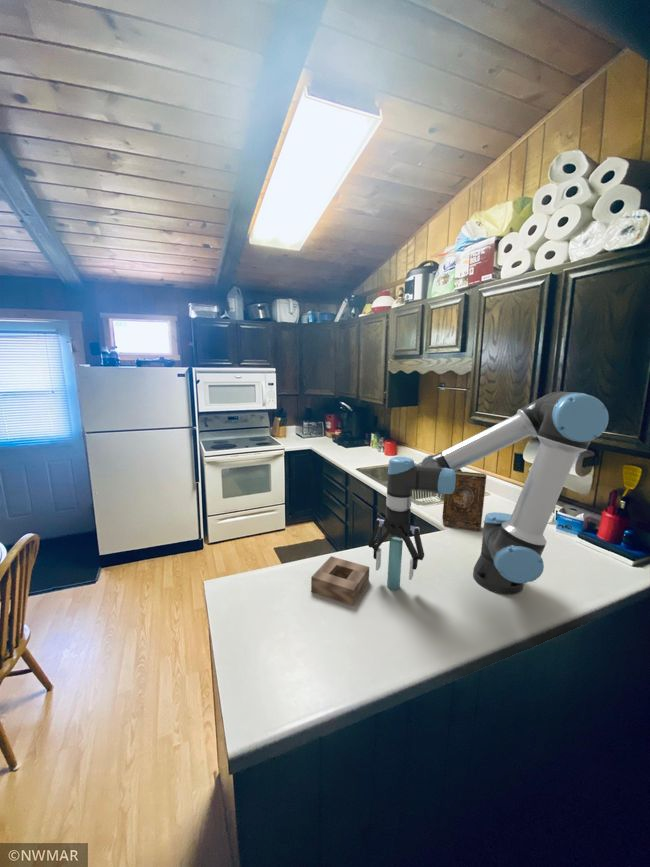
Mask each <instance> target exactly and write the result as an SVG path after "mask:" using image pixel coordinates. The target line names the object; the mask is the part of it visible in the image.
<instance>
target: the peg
mask: <svg viewBox="0 0 650 867" xmlns="http://www.w3.org/2000/svg"><path fill="white" fill-rule="evenodd" d="M403 543H404V541H403V539H402V538H401V537H397V536H393V537H390V538H389V547H388V562H387V564H388V565H387V566H388V567H387V578H386V580H387V581H386V587H387V588H388V589H389V590H391V591H398V590H400V586H401V573H402V572H401V571H402V560H403V559H402V557H403V556H402V555H403Z"/></svg>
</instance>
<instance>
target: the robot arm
mask: <svg viewBox="0 0 650 867" xmlns="http://www.w3.org/2000/svg"><path fill="white" fill-rule="evenodd" d="M609 418H610V417H609V411H608V409H607V407H606V405H605V404H604V403H603V402H602V401H601V400H600V399H599V398H597V397H595V396H593V395H590V394H587V393H583V392H573V391H571V392H569V391H561V390H559V391H554V392H550V393H548V394H545V395H543V396H542V397H539V398H538V399H535V400H534V401H532V402H531V403H529V404H526V405H524V406H523V407H521V408H519V409H517V412H516V414H515V415H512V416H510V417H508V418H506V419H504V420H502V421H500V422H499V423H497V424H494V425H493V426H491V427H488V428H487V429H484V430H482V431H481V432H478V433H476V434H474V435H472V436H469V437H468V438H466V439H463V441H460V442H458V443H457V444H454V445H453V446H450V447H448V448H447V449H444V450H442V451H441V452H438V453H436V454H430V455H427V456H425V457H424V458H423V459H422V461H421V464H420V465H415V461H414V459H413V458H411V457H407V456H394V457H391V458H390V459H389V461H388V468H387V478H386V479H387V480H386V481H387V482H386V484H387V485H386V499H385V500H386V501H385V502H386V506H385V515H384V516H385V519H381V517H377V519H376V520H375V521H374V529H373V532H372V534H371V537H370V540H369V542H368V546H367V547H369V548H372V550H373V559H374V560H375V571H379V570H380V568H381V564H382V560H381V559H382V548H381V545H383V542H385V540H386V539H387V538H388V537H389V535H390V536H393V537H397V538H401V539H402V540H403V543H404V544H405V546H406V548H407V550H408V552H409V554H410V556H411V558H410V560H409V572H408V580H410V581H412V579H413V577H414V570H417V568H418V564H419V563H418V561H423V560H424V557H425V551H424V547H423V543H422V539H421V538H422V537H421V535H420V532H421V526H419V525H417V526H414V525H412V524H411V507H412V498H413V497H412V496H413V495H412V494H413V491H416V492H422V493H423V492H424V493H433V494H440V495H444V494H452V493H453V492H454V490H455V482H456V475H455V471H459V470H461V469H463V468H465V467H467V466H469V465H471V464H473V463H475V462H477V461H479V460H481V459H484V458H485V457H488V456H490V455H492V454H494V453H497V452H498V451H500V450H503V449H505V448H507V447H509V446H511V445H513V444H516V443H518V442H520V441H523V440H524V439H527V438H528V437H534V438H536V437H537V438H538V440H539V443H540V444H539V446H538V449H537V451H536V455H535V457H534V459H533V462H532V464H531V466H530V469H529V472H528V474H527V476H526V480H525V482H524V484H523V486H522V488H521V489H522V490H521V492H520V493H519V496H518V499H517V501H516V504H515V507H514V508H513V512H512V514H510V513H505V512H488V513H486V515H485V516H484V521H483V530H482V540H481V548H480V549H481V551H480V554H479V557H478V559H477V561H476V563H475V564H474V567H473V569H472V570H473V572H472V577H473V579H474V580H475V582H476V583H478V585H481V587H483V588H485V589H487V590H489V591H491V592H495V593H497V594H503V595H516V594H520V593H521V592H523V590H524V586H525V585H524V584H527V583H530V582H531V583H533V582H535V581H536V580H538V579H539V578H540V577H541V576H542V574H543V573H544V568H545V566H544V560H543V558H542V556H543V555H542V554H543V552H544V550H545V547H546V545H547V540H546V538H545V535H544V532H545V530H546V527H547V526H548V523H549V521H550V518H551V516H552V514H553V512H554V509H555V507H556V505H557V502H558V499H559V497H560V495H561V493H562V491H563V488H564V485H565V483H566V481H567V478H568V476H569V474H570V472H571V469H572V467H573V465H574V463H575V460H576V458H577V456H578V455H579V454H581V453H584V452H586V451H588V448H589V447H590V446H589V445H590V444H591V442H592V440H595V439H596V438H599V437H600V436H601V435H602V434H603V433H604V432H605V430H606V429H607V427H608V424H609ZM383 525H384V527H385V529H386V531H385V532H384V533H383V535H382V536H381V537H380V539H379V540H378V541H377V543H376V539H377V537H378V534H379V531H380V528H381V527H382V526H383ZM409 531H411V533H412V535H413V539H414V543H413V541H412V539H411V537H410V534H409ZM414 544H415V546H414Z"/></svg>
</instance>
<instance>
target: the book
mask: <svg viewBox="0 0 650 867" xmlns="http://www.w3.org/2000/svg"><path fill="white" fill-rule="evenodd" d="M455 475H456V482H455V490H454V492H453V493H452V494H443V507H442V519H441V520H442V525H443V526H444V527H448V528H451V529H452V528H453V529H461V530H468V531H476V532H480V531H481V530H482V522H483V512H484V504H485V503H484V502H485V494H486V493H485V492H486V485H487V483H486V482H487V475H486V474H485V473H480V472H472V471H471V472H470V471H460V470H456V471H455Z"/></svg>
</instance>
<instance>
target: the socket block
mask: <svg viewBox="0 0 650 867" xmlns="http://www.w3.org/2000/svg"><path fill="white" fill-rule="evenodd" d="M310 578H311V580H310V581H311V582H310V583H311V584H310V586H311V587H310V592H312V593H315V594H316V595H317V594H318V595H321V596H324V597H326V598H329V599H332V600H335V601H338V602H341V603H344V604H347V605H349V606H354V605H355V603H356V601H357V600H358V598H359V597H360V595H361V594H362V592H363V591H364V589H365V587H366V586H367V584H368V583H369V581H370V566H368V565H363V564H361V563H356V562H353V561H351V560H350V561H349V560H345V559H341V558H338V557H335V556H330V557H328V558H327V560H326V561H325V562H324V563H323V564H322V565H321V566H320V567H319V568H318V569H317V570H316V571H315V573H314V574H312V575H311V577H310Z"/></svg>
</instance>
